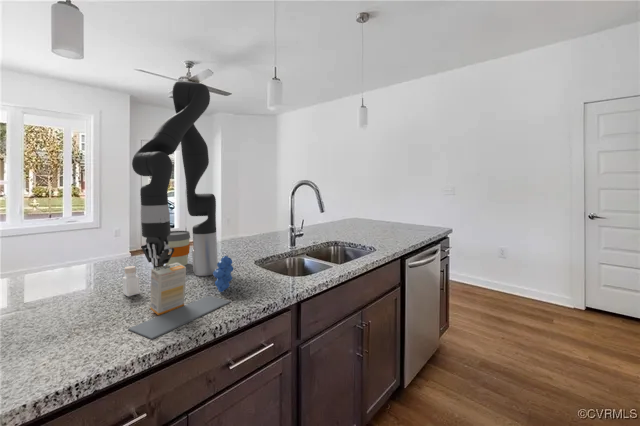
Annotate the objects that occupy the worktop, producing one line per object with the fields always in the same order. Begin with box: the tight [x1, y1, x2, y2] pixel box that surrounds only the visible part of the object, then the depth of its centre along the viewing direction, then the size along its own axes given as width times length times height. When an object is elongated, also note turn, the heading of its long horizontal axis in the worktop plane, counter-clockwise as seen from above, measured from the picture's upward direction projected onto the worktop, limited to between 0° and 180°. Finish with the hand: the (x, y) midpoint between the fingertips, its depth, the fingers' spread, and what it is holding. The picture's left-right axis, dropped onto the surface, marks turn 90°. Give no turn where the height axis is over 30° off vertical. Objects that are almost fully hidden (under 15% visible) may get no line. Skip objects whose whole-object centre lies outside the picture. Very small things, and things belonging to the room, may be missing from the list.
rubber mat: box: [128, 295, 231, 340], centre depth 88 cm, size 10×26×1 cm, turn 151°
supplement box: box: [149, 263, 187, 316], centre depth 90 cm, size 8×5×13 cm, turn 145°
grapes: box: [213, 255, 235, 293], centre depth 108 cm, size 12×7×12 cm, turn 174°
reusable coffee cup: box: [165, 230, 191, 267], centre depth 140 cm, size 13×13×15 cm
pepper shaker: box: [122, 265, 141, 297], centre depth 104 cm, size 4×4×10 cm
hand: (159, 277), depth 92 cm, fingers closed
